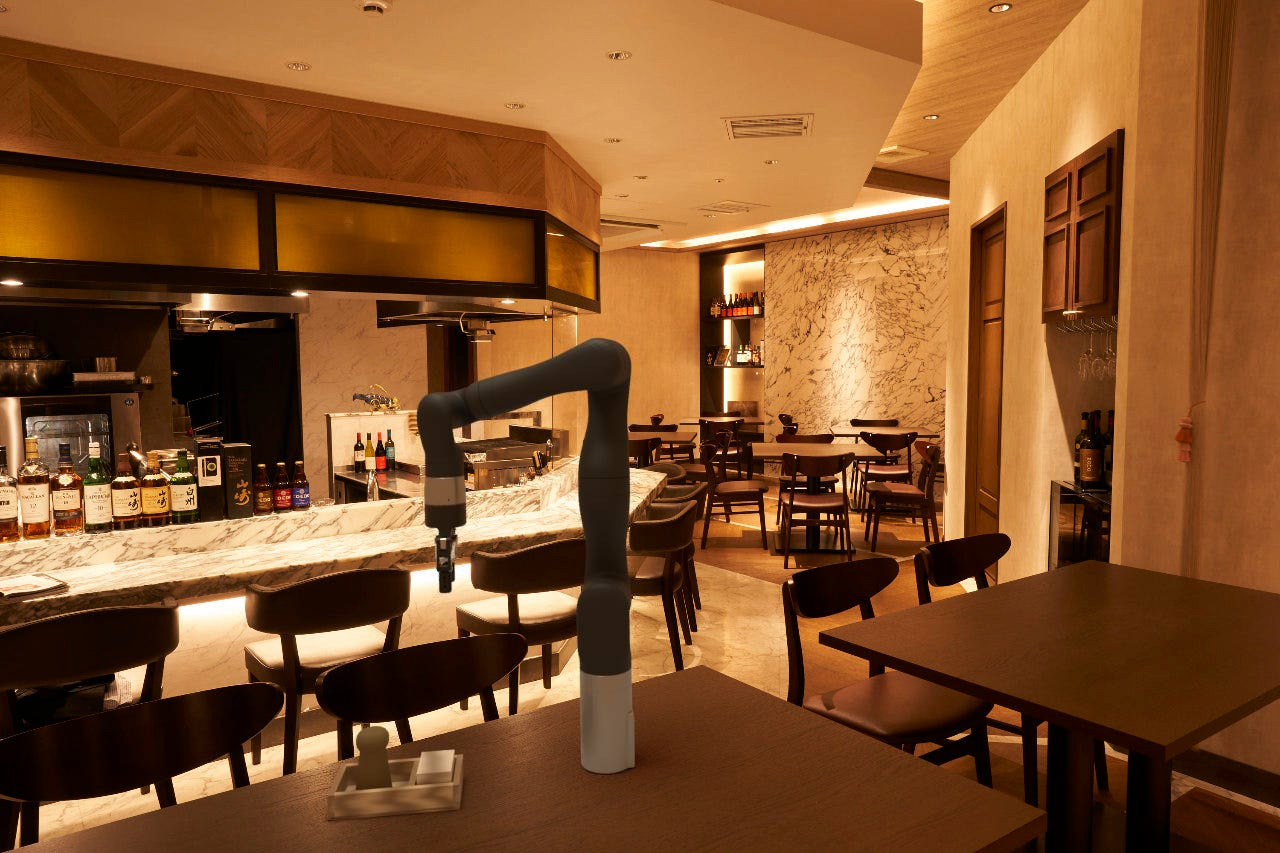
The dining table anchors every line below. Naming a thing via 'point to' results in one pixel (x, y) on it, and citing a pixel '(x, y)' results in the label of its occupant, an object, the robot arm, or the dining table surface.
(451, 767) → the caddy
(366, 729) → the olive pawn
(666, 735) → the dining table surface
